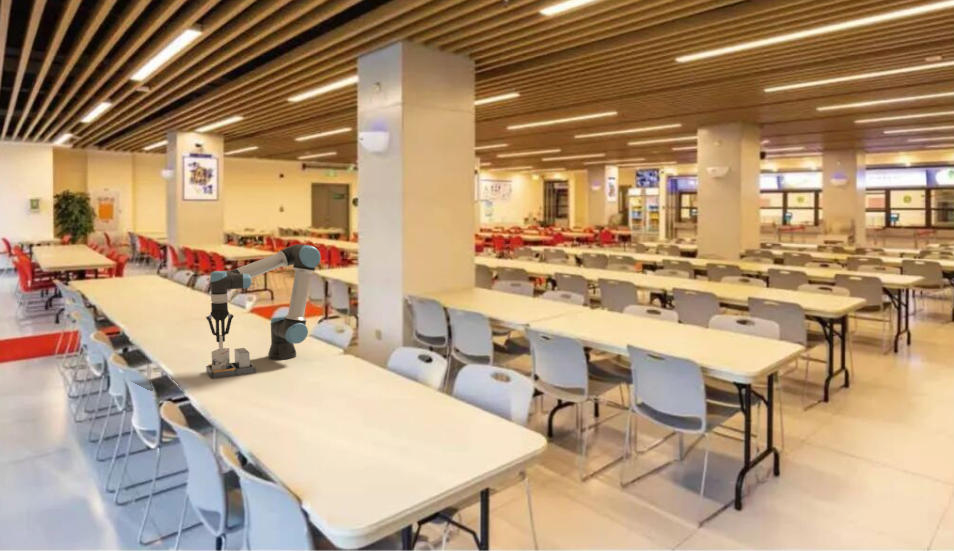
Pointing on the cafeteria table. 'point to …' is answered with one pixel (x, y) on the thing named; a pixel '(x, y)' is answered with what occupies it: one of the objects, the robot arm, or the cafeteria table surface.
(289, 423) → the cafeteria table surface
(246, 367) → the rack
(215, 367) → the ink box
